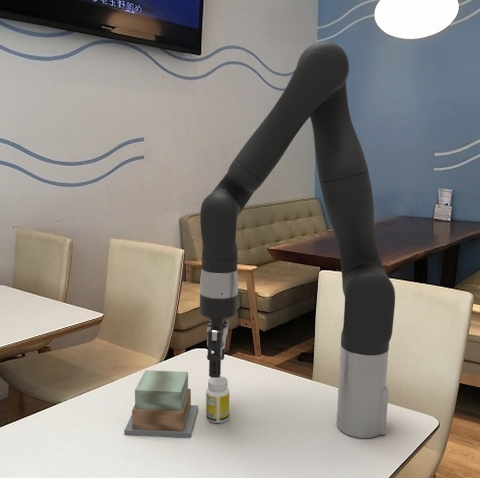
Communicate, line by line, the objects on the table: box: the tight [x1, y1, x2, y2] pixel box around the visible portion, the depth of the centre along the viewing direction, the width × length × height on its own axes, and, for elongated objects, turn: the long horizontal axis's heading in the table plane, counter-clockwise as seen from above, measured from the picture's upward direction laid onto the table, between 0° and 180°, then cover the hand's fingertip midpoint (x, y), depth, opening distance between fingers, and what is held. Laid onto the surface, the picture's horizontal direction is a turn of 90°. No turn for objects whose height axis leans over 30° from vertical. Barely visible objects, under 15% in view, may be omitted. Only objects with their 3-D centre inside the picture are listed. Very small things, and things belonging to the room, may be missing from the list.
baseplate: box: [123, 404, 199, 439], centre depth 111 cm, size 13×11×1 cm
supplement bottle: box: [205, 375, 230, 424], centre depth 112 cm, size 5×5×8 cm
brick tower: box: [131, 369, 192, 431], centre depth 110 cm, size 10×10×8 cm
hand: (216, 367), depth 111 cm, fingers open, 8 cm apart
